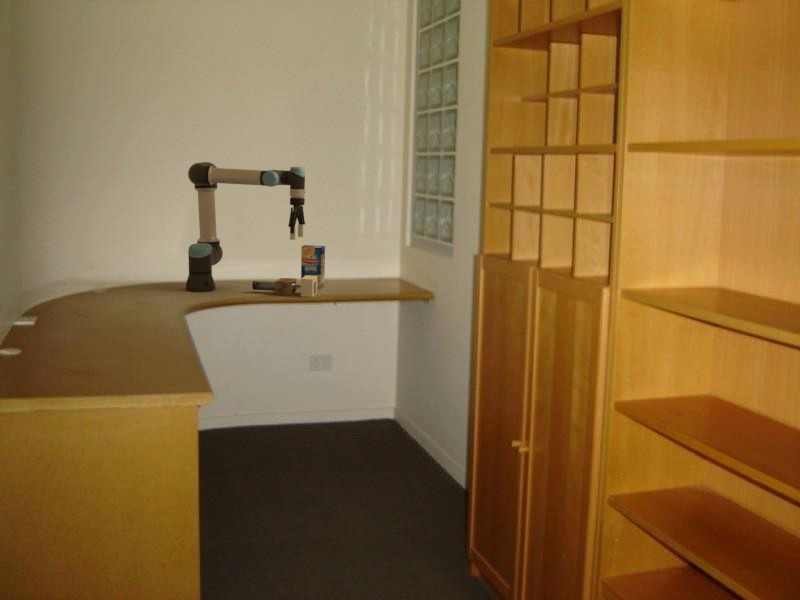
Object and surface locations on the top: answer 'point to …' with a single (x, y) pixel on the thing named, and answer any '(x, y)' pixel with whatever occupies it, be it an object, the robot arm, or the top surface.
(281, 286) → the sleeve
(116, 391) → the top surface
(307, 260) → the beverage box
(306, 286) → the socket
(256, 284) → the tube
